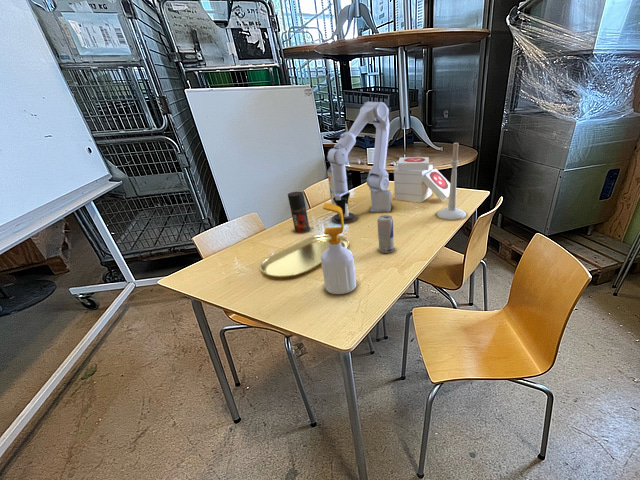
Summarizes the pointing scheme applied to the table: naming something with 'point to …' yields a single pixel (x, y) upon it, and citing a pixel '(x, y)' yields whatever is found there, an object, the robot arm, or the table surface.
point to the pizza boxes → (418, 180)
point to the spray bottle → (345, 215)
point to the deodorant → (298, 212)
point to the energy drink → (385, 234)
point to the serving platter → (298, 257)
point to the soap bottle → (337, 259)
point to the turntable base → (345, 220)
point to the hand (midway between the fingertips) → (343, 211)
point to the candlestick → (452, 193)
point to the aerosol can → (331, 185)
